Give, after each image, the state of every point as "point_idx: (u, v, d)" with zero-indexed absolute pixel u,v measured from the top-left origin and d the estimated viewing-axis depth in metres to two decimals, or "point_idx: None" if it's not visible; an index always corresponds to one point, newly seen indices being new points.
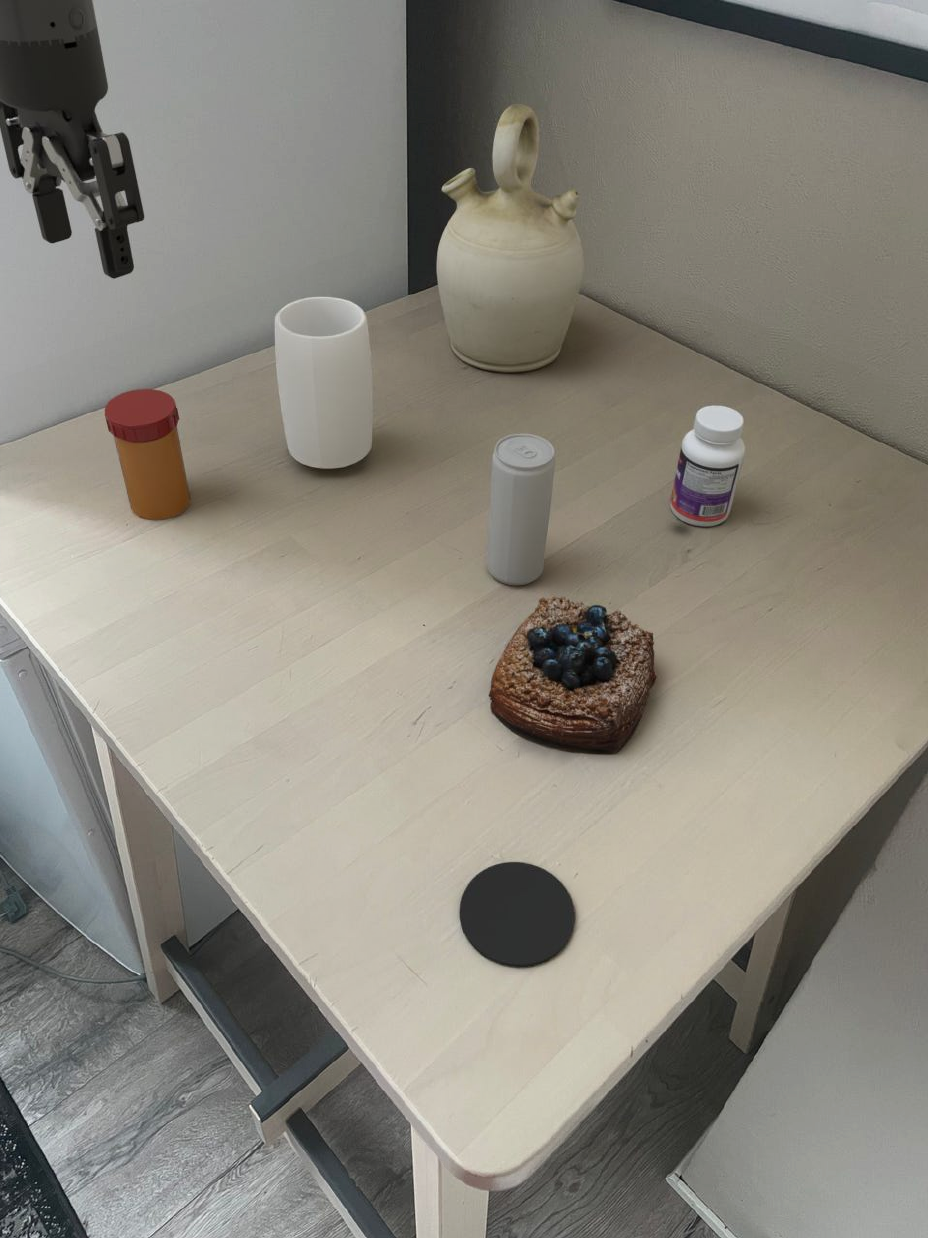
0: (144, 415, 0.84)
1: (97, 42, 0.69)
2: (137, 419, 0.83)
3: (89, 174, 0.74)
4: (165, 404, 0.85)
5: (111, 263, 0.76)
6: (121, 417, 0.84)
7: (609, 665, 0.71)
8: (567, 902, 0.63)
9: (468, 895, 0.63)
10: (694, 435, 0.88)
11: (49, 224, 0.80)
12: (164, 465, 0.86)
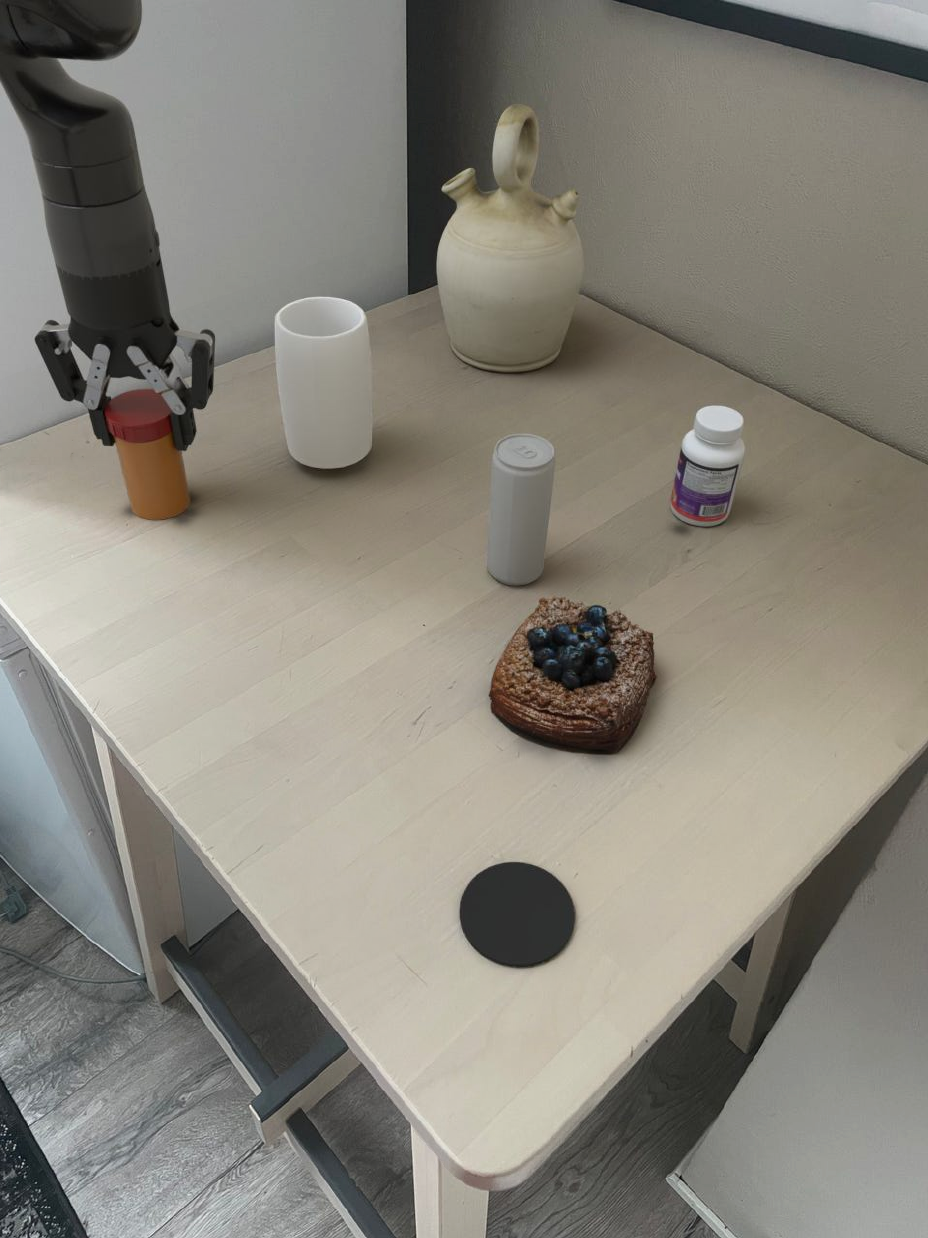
0: (144, 415, 0.84)
1: None
2: (137, 419, 0.83)
3: None
4: (165, 404, 0.85)
5: (184, 438, 0.86)
6: (121, 417, 0.84)
7: (609, 665, 0.71)
8: (567, 902, 0.63)
9: (468, 895, 0.63)
10: (694, 435, 0.88)
11: None
12: (164, 465, 0.86)
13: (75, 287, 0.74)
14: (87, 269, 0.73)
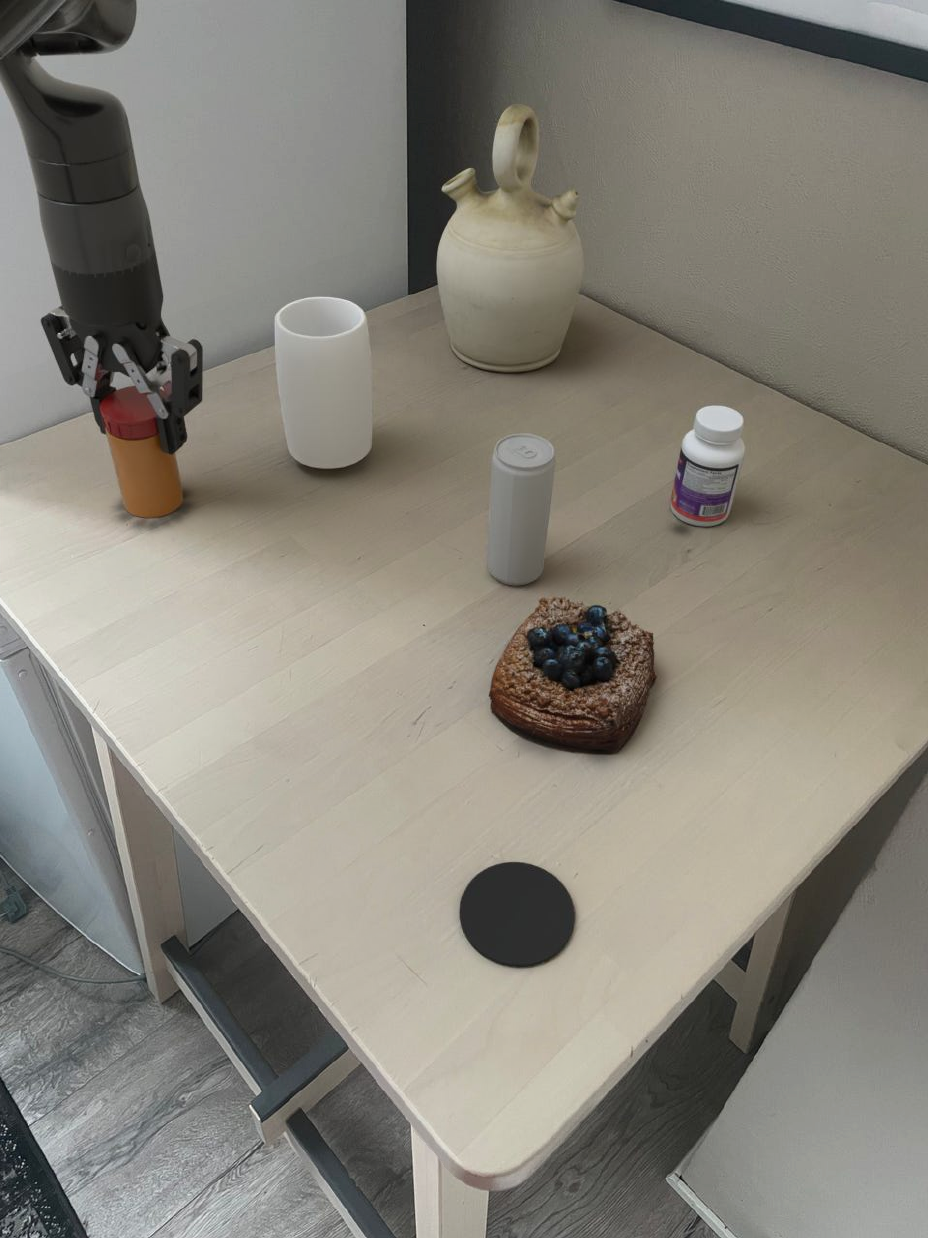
0: (137, 394, 0.86)
1: (52, 267, 0.76)
2: None
3: None
4: (111, 400, 0.85)
5: None
6: None
7: (609, 665, 0.71)
8: (567, 902, 0.63)
9: (468, 895, 0.63)
10: (694, 435, 0.88)
11: None
12: (160, 461, 0.87)
13: None
14: None
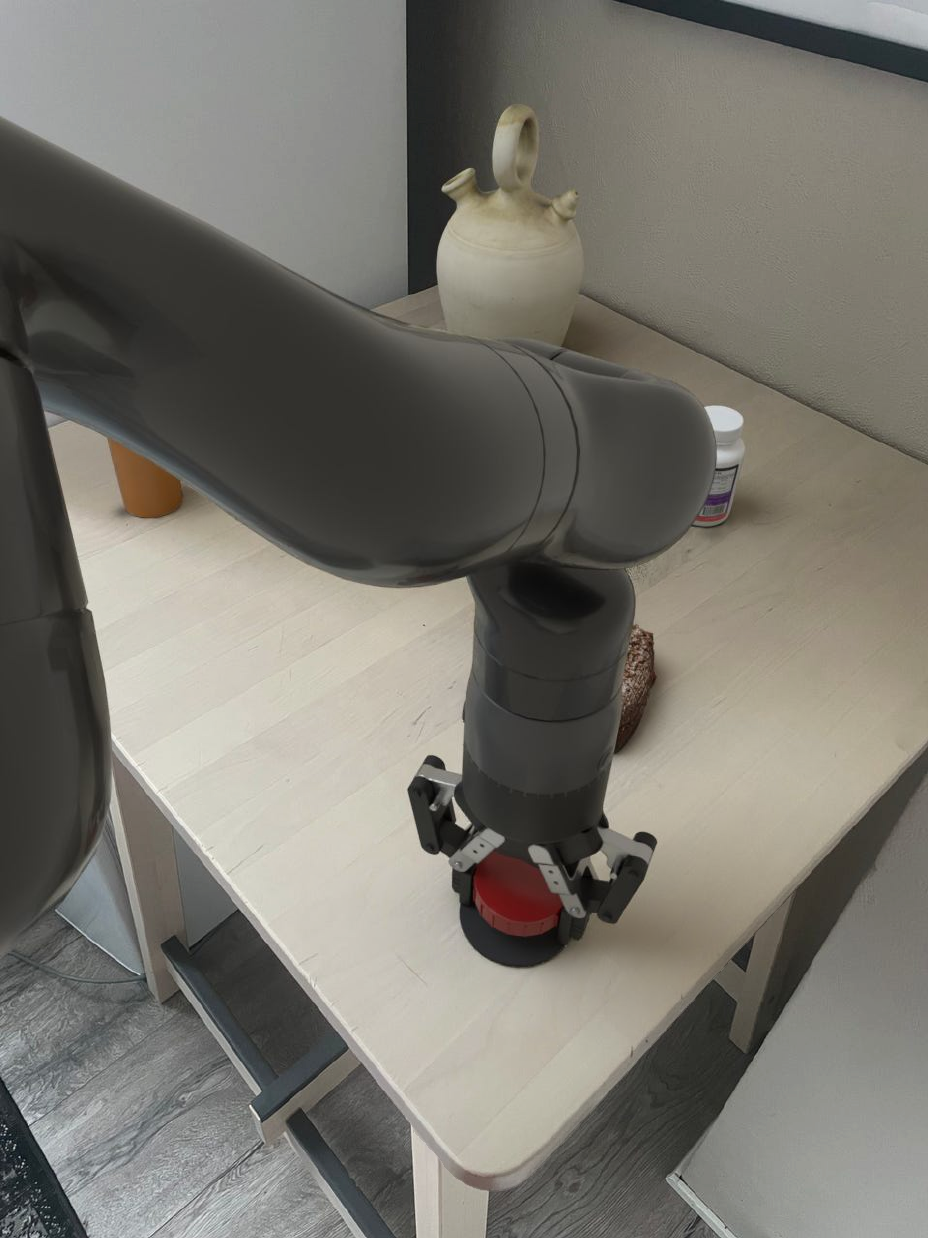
0: None
1: (467, 762, 0.51)
2: None
3: None
4: (488, 874, 0.60)
5: None
6: None
7: None
8: None
9: None
10: None
11: None
12: None
13: None
14: None
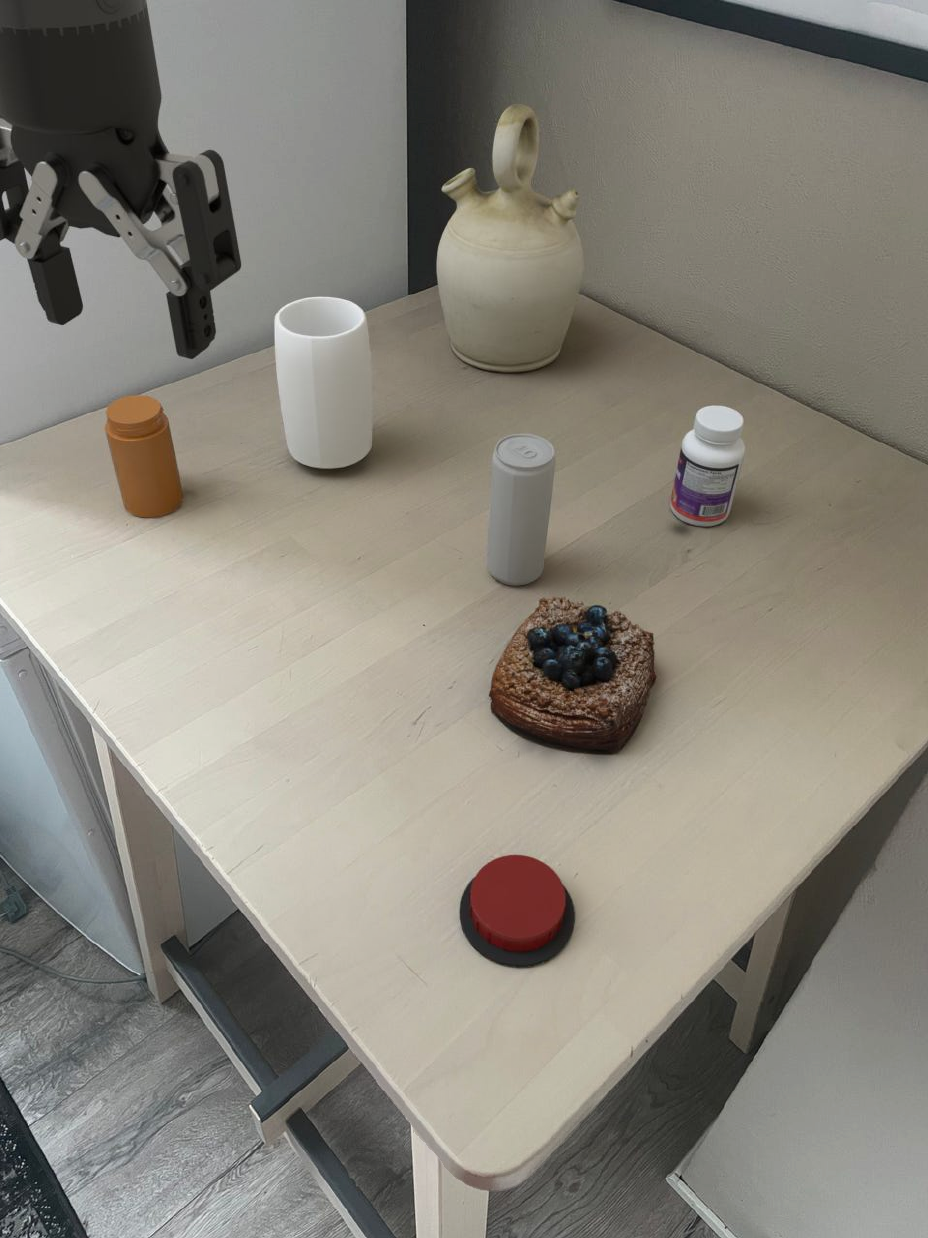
0: (514, 874, 0.62)
1: None
2: (524, 867, 0.63)
3: None
4: (484, 890, 0.61)
5: None
6: (544, 877, 0.62)
7: (609, 665, 0.71)
8: (567, 902, 0.63)
9: (468, 895, 0.63)
10: (694, 435, 0.88)
11: None
12: (159, 461, 0.87)
13: None
14: None
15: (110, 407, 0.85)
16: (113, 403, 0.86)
